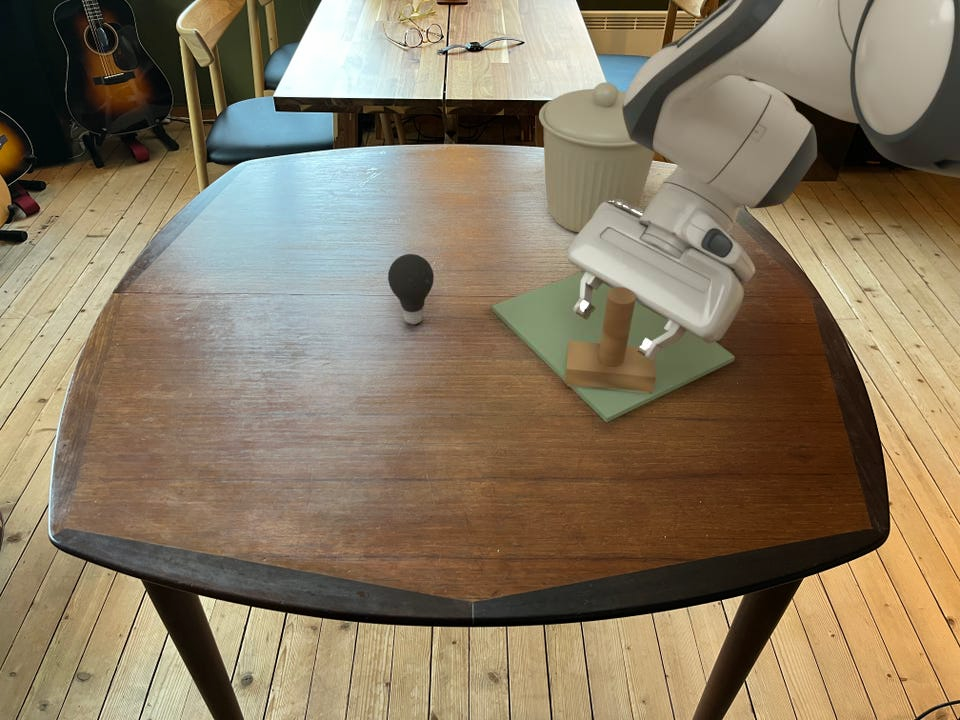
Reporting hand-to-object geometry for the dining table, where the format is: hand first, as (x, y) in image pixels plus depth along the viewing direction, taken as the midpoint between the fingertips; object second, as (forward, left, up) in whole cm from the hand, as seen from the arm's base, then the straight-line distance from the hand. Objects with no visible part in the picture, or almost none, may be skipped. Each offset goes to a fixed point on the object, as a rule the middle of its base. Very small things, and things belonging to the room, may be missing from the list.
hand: (610, 335), depth 81 cm
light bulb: (+22, +13, -8) cm, 27 cm away
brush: (0, -1, -7) cm, 7 cm away
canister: (+31, -23, -8) cm, 39 cm away
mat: (+7, -7, -8) cm, 13 cm away
